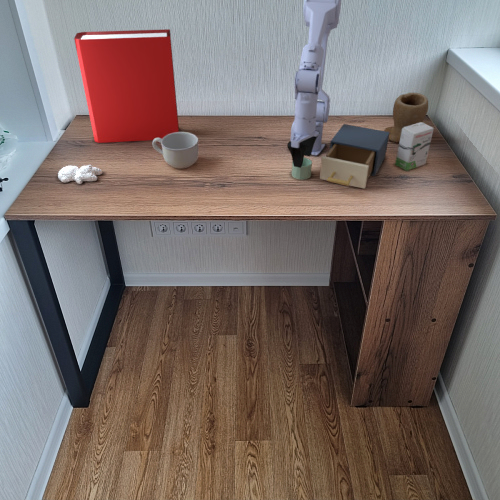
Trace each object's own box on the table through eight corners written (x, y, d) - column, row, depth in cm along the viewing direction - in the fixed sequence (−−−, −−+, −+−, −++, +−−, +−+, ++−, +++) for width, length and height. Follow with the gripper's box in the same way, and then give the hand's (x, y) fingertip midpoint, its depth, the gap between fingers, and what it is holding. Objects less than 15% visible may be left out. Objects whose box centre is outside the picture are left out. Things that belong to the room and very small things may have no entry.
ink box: (406, 171, 149) (414, 134, 142) (393, 164, 153) (401, 127, 145) (426, 163, 153) (435, 127, 146) (413, 157, 156) (421, 121, 149)
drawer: (360, 197, 136) (363, 175, 132) (314, 186, 141) (316, 165, 137) (375, 169, 149) (378, 148, 145) (332, 160, 153) (335, 140, 149)
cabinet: (374, 176, 147) (379, 150, 142) (327, 166, 152) (330, 140, 147) (385, 156, 157) (389, 132, 152) (340, 148, 161) (343, 123, 156)
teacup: (206, 160, 155) (204, 135, 150) (188, 175, 147) (185, 150, 142) (167, 151, 159) (164, 127, 155) (147, 166, 152) (144, 141, 147)
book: (178, 128, 173) (169, 29, 154) (179, 138, 167) (169, 36, 147) (97, 132, 170) (77, 32, 151) (94, 143, 164) (73, 39, 145)
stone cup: (389, 148, 161) (398, 102, 152) (380, 132, 171) (387, 88, 162) (436, 147, 162) (447, 101, 153) (424, 131, 171) (434, 87, 162)
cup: (288, 177, 146) (289, 164, 144) (295, 168, 151) (296, 155, 148) (307, 181, 145) (308, 168, 142) (313, 172, 149) (314, 159, 146)
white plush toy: (92, 186, 142) (90, 176, 141) (53, 181, 144) (50, 172, 142) (105, 171, 149) (103, 161, 147) (67, 167, 151) (65, 158, 149)
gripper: (310, 127, 130) (306, 174, 138) (328, 108, 140) (323, 153, 149) (284, 123, 132) (282, 169, 141) (304, 104, 143) (300, 148, 151)
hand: (302, 160), depth 145 cm, fingers open, 7 cm apart
